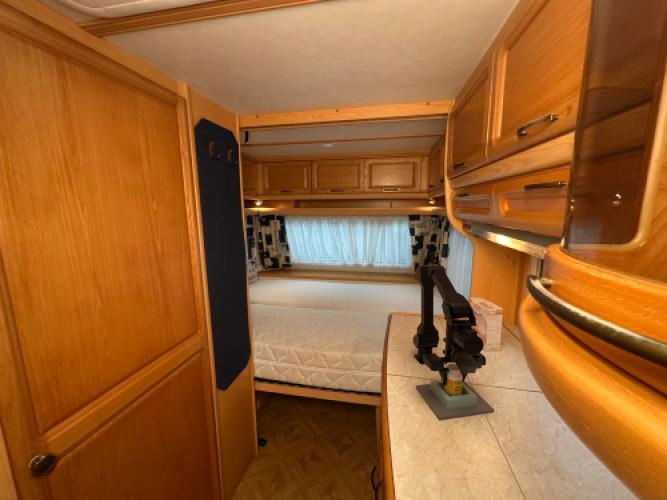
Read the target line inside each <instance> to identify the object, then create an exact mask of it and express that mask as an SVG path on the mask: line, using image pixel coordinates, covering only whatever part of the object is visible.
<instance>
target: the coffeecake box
mask: <svg viewBox="0 0 667 500" xmlns="http://www.w3.org/2000/svg"><path fill="white" fill-rule="evenodd" d="M468 302H469V303H470V305H471V307H472V310H473V313H474V315H475V318H476V325H477V326H471V328H472V329H474V330H476V331H477V335H478V336H479V337H480V338H481V339H482V340H483V343H484V347H483V349H482V351H484V352H500V351H501V338H502V326H503V315H504V312H503V311H504V308H503V307H500V306H499V305H497V304H495V303H494V302H491V301H489V300H487V299H485V298H483V297H469V298H468ZM467 320H469V319H468V318H467Z"/></svg>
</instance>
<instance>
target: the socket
mask: <svg viewBox="0 0 667 500" xmlns="http://www.w3.org/2000/svg"><path fill="white" fill-rule="evenodd" d="M415 389H416V391H417V393H419V394H420V395H419V396H421V398H422V399H423V400H424V401H425V403H426V405H427V406H428V407H429V408H430V410H431V411H432V413H433V414H434V415H435V416H436V418H437V419H438V420H439V421H444V420H445V421H446V420H452V419H457V418H465V417H472V416H479V415H484V414H493V413H495V409H494V408H493V407H492V406H491V405H490V404H489V403H488V402H487V401H486V400H485V399H484V398H483V397H482V396H481V395H480V394H479V393H477V391H476V390H475V389H473V388H472V387H471V386H470V385H469V384H468V383H467V382H466V381H465V380H464V382H463V383H462V395H458V396H450V397H449V396H448V395H447V394H446V392H445V391H444V384H443V382H442V379H441V378H440V379H433V380H430V383H427V384H418V385H415Z"/></svg>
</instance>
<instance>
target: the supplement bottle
mask: <svg viewBox="0 0 667 500" xmlns="http://www.w3.org/2000/svg"><path fill="white" fill-rule="evenodd" d="M447 368H448V369H449V370H450V371H449V372H447V384H446V386H445V385H444V391H445V392H446V394H447V395H448V396H449V397H450V396H458V395H462V380H463V376H462V374H461V373H460V371H459V368H458V367H457V365H456V364H455V363H448V364H447Z"/></svg>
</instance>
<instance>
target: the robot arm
mask: <svg viewBox="0 0 667 500" xmlns="http://www.w3.org/2000/svg"><path fill="white" fill-rule="evenodd" d="M414 272H415V277H416V281H417V282H418V284H419V286H420V323H419V324H418V326H417V327H416V334H415V335H414V336H413V337H412V344H413V345H414V347H415V348H416V349H417V352H416V353H417V354H414V355H413V356H414V358H415V360H417V362H418V363H419V364H420V365H425V366H426V367H427V368H428V369H429V370H430V371H432V372H438V373H439V376H440V379H442V382H443V384H444V385H445V386H446V384H447V372H449V371H450V370H449V369H448V368H447V365H448V364H456V365H457V367H458V368H459V371H460V373H461V374H462V376H463V380H462V383H463V382H464V381H465V379H466V378H467V375H469V374H475V373H476V372H477V370H478V369H482V366H486V364H487V358H486V356H485V355H484V354H482V351H483V347H484V343H483V340H482V339H481V338H480V337H479V336H478V335H477V331H476V330H474V329H472V328H471V326H477V325H476V318H475V315H474V313H473V310H472V307H471V305H470V303H469V300H468V299H467V298H466V297H465V296H464V295H463V294H461V293H459V292H458V291H457V290H456V288H455V287H454V285H453V283H452V281H451V280H450V278H449V276H448V275H447V273H446V271H445V266H444V265H441V264H425V265H424V264H423V265H418V266H417V267H416V268H415V271H414ZM435 287H436V290H437V291H438V292H439V295H440V297H441V298H442V302H441V308H442V313H443V316H444V318H443V319H444V320H445V337H443V338H442V342H444V349H442V354H443V355H444V356H439V355H438V354H437V353H436V352H433V348H435V349H437V348H438V346H439V343H440V342H439V341H440V336H439V335H440V334H439V330H438V329H437V327H436V326H435V324H434V321H435V320H434V318H435V317H434V312H435V311H434V305H435V303H434V295H435V294H434V293H435V292H434V291H435V289H434V288H435ZM468 319H469V320H468Z"/></svg>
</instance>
